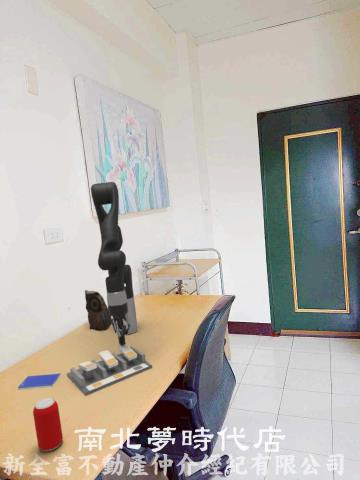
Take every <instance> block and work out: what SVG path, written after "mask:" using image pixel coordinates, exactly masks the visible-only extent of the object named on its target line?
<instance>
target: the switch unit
mask: <svg viewBox="0 0 360 480" xmlns="http://www.w3.org/2000/svg"><path fill="white" fill-rule="evenodd" d="M129 347H130V348H131V349H132V350H133V351H134V352H135V353H136V354H137V358H134V359H132V360H128V359H127V358H126V357H125V356H123V355H122V353H121V352H120V353H119V354H115V352H112V353H111V352H110V353H111V354H112V355H113V357H114V358H115V359H116V360H117V361H118V365H116V366H114V367H111V368H108V366H107V365H106V364H105V363H103V361H102V360H100V361H96V360H95V359H92V360H90V362H92V363H95V364H96V365H97V368H95V369H92V370H90V371H83V370H82V369H79V368H78V369H76V368H74V367H70V369H69V370H70V372H67V373H66V376H67V377H68V378H69V380H71V382H72V383H73V384H74V385H75V386H76V387H77V388H78V389H79V390H80V391H81V393H83V395H85V396H89V395H92V394H93V393H95V392H98V391H100V390H102V389H105V388H107V387H110V386H112V385H115V384H117V383H120V382H121V381H122V382H123V380H127V379H129V378H132V377H134V376H136V375H138V374H141V373H143V372H146V371H148V370H151V369H152V368H153V364H151V363H149V362H147V361H146V354H145V353H144V352H143V351H140V350H138V349H136V348H135V347H133V346H129Z"/></svg>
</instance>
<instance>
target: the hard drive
mask: <svg viewBox="0 0 360 480" xmlns="http://www.w3.org/2000/svg"><path fill="white" fill-rule="evenodd" d="M59 378H61V373H51V374H40V375H39V374H38V375H28V376H27V377H26V378H24V380H23V381H22V382H21V383H20V384H19V385H18V387H17V390H18V391H21V390H30V389H31V390H32V389H41V388H42V389H43V388H51V387H54V385H55V384H56V383H57V381H58V380H59Z"/></svg>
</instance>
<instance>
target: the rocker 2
mask: <svg viewBox="0 0 360 480" xmlns="http://www.w3.org/2000/svg"><path fill="white" fill-rule="evenodd" d="M130 347H131V346H130V345H128V344H127V343H126V344H125V345H122V346H121V345H117V350H118V351H119V352H120V354H121V353H122V355H123V356H125V357H126V358H127V359H128V360H132V359H134V358H137V354H136V353H135V352H134V351H133V350H132V349H131V348H130Z"/></svg>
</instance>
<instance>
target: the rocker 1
mask: <svg viewBox="0 0 360 480" xmlns="http://www.w3.org/2000/svg"><path fill="white" fill-rule="evenodd" d="M77 365H78V369H82V370H83V371H90V370H92V369H95V368H97V365H96V364H95V363H92V362H91V361H89V360H88V361H84V362H82V363H81V362H80V363H79V364H77Z"/></svg>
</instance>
